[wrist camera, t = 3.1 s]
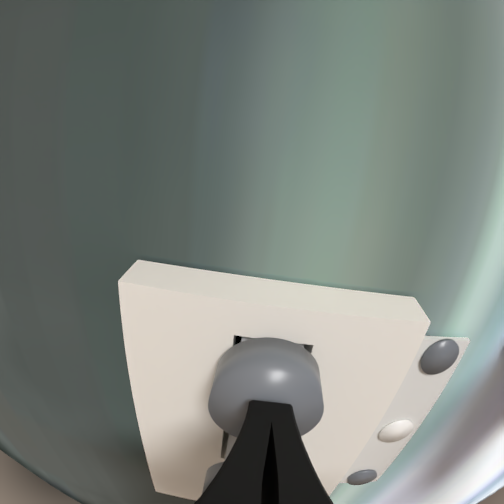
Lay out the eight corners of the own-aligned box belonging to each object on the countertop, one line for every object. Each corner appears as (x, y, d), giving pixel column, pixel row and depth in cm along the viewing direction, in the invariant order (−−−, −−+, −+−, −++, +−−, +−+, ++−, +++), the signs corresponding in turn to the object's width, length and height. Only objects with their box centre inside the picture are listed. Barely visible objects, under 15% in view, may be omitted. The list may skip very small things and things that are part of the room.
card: (468, 336, 14) (472, 341, 13) (375, 478, 19) (376, 483, 18) (419, 333, 14) (423, 339, 13) (336, 480, 19) (337, 485, 19)
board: (414, 297, 13) (430, 322, 11) (315, 490, 20) (316, 511, 18) (137, 259, 13) (118, 280, 11) (161, 471, 20) (155, 491, 18)
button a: (324, 310, 13) (337, 378, 9) (304, 378, 15) (308, 446, 11) (228, 297, 13) (210, 363, 10) (221, 368, 15) (206, 435, 11)
